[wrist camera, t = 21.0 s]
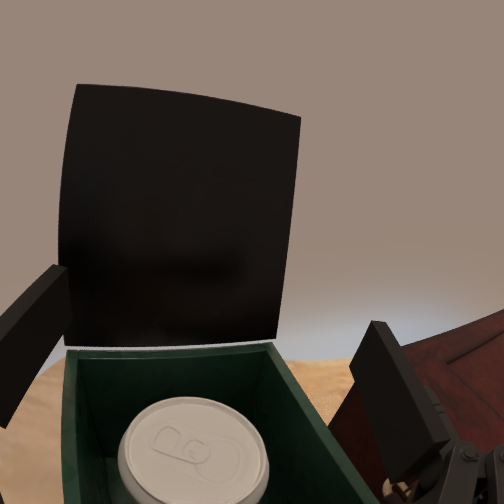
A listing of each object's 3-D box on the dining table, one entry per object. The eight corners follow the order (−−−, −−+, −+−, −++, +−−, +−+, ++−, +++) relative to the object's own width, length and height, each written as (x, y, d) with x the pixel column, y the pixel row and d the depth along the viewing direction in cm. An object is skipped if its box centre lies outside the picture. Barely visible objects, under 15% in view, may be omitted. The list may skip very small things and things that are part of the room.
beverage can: (219, 567, 13) (253, 542, 9) (118, 526, 15) (83, 469, 10) (248, 491, 21) (289, 417, 16) (160, 458, 22) (159, 371, 17)
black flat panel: (301, 116, 18) (295, 119, 19) (76, 83, 13) (78, 87, 14) (276, 339, 21) (271, 334, 21) (64, 346, 15) (66, 340, 16)
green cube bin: (295, 558, 15) (383, 507, 10) (125, 590, 10) (77, 579, 4) (237, 442, 26) (272, 341, 21) (97, 454, 21) (66, 348, 16)
